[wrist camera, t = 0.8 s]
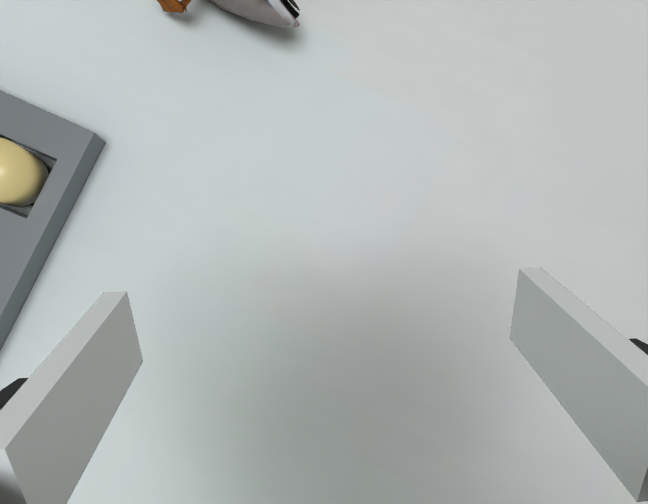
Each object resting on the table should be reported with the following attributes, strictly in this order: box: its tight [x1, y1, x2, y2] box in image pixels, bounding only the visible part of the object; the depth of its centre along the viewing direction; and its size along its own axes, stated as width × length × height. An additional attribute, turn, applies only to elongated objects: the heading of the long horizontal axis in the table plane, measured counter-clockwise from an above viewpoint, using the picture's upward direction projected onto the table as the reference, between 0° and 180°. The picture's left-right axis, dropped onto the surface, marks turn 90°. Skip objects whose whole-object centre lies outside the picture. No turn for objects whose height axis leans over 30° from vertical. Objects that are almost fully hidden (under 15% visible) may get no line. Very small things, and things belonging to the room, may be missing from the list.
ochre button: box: [0, 138, 49, 206], centre depth 33 cm, size 4×4×3 cm
